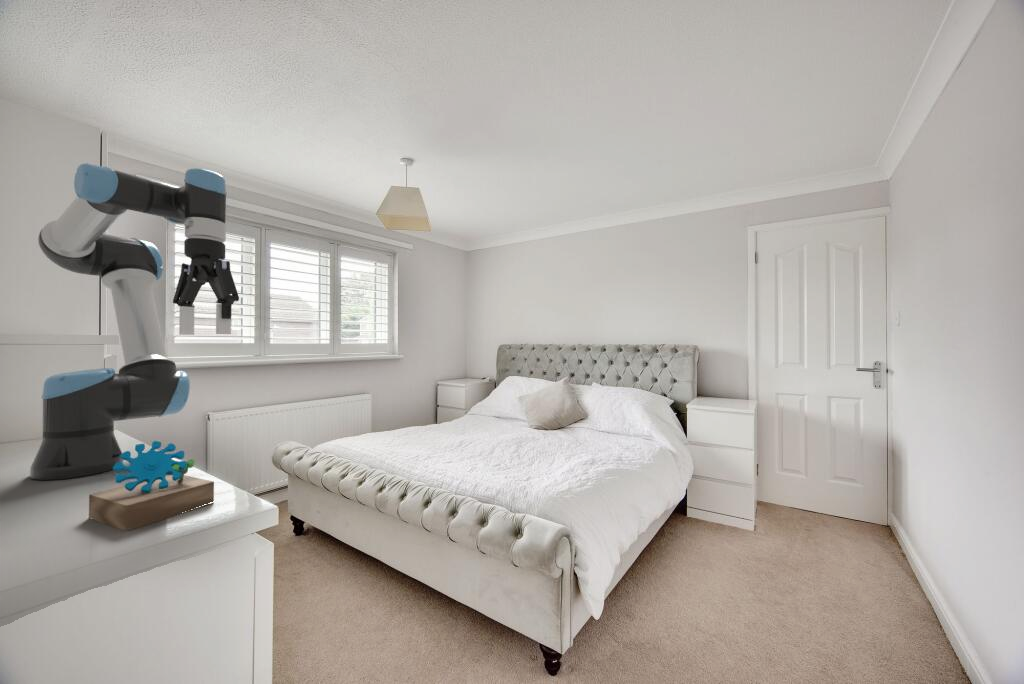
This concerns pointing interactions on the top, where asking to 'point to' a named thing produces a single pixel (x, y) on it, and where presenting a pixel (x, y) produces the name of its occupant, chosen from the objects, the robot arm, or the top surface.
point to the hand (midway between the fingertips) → (204, 334)
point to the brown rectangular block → (149, 502)
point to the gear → (152, 466)
